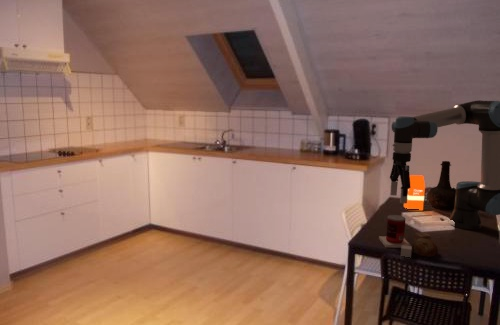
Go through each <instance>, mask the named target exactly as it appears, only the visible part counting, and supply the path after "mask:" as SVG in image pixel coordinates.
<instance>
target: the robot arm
mask: <svg viewBox="0 0 500 325" xmlns="http://www.w3.org/2000/svg"><path fill="white" fill-rule="evenodd" d="M454 124H456V125H464V124H465V125H467V124H468V125H469V124H470V125H477V126H478V132H480V133H481V135H482V136H481V166H480V181H473V180H471V181H468V180H467V181H459V182H457V183H456V186H455V187H456V188H455V189H456V191H455V202H454V208H453V210H452V212H451V214H450V216H449V218H448V220H449V219H450V220H453V221H454V222H455V226H454V227H455V228H458V229H463V230H480V229H481V228H482V221H481V216H480V211H481V212H484V213H486V214H487V215H494V216H499V215H500V101H499V100H472V101H469V102H464V103H461V104H456V105H453V106H452V107H451V108H447V109H442V110H438V111H434V112H433V111H432V112H428V113H425V114H420V115H416V116H405V115H404V116H397V117H396V118H395V119H394V120H393V121H392V123H391V131H392V132H393V133H394V135H393V144H392V147H393V153H392V162H393V163H392V167H391V171H390V176H389V179H390V181H391V183H390V193H389V194H390V196H393V197H395V196H397V193H398V185H399V184H398V182H399V177H400V182H401V183H400V184H401V187H400V195H399V196H400V198H399V199H400V200H399V203H400V204H404V203H407V196H408V189H409V188H411V186H410V175H411V174H410V165H408V164H407V163H409V162H411V158H412V157H411V156H412V153H411V152H412V150H413V139H432V138H435V137H436V135H437V134H438V129H439V128H442V127H446V126H450V125H454Z"/></svg>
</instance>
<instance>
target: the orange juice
mask: <svg viewBox="0 0 500 325" xmlns="http://www.w3.org/2000/svg"><path fill="white" fill-rule="evenodd" d="M409 175H410V186H411V188H409V189H408V196H407V203H403V208H405V209H406V208H407V209H419V210H418V211H423V210H424V202H425V193H426V192H425V190H426V182H425V177H424V175H421V174H419V175H416V174H412V175H411V174H409ZM407 209H406V210H407Z"/></svg>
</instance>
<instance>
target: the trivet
mask: <svg viewBox="0 0 500 325" xmlns="http://www.w3.org/2000/svg"><path fill="white" fill-rule="evenodd" d="M378 240H380V242H381V243H382V244H383V246H384V247H385V248H395V249H397V248H398V249H399V248H400V249H401V247H402V245H406V246H412V245H411V244H410V242H408V240H406V238H404V240H403V242H402V243H391V242H388V241H387V240H386V235H385V236H380V235H378Z"/></svg>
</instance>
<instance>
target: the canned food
mask: <svg viewBox="0 0 500 325" xmlns="http://www.w3.org/2000/svg"><path fill="white" fill-rule="evenodd" d="M405 228H406V217H405V216H403V215H398V214H389V215H388V216H387V220H386V232H385V236H386V240H387V241H388V242H391V243H402V242H403V240H404V239H405Z"/></svg>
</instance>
